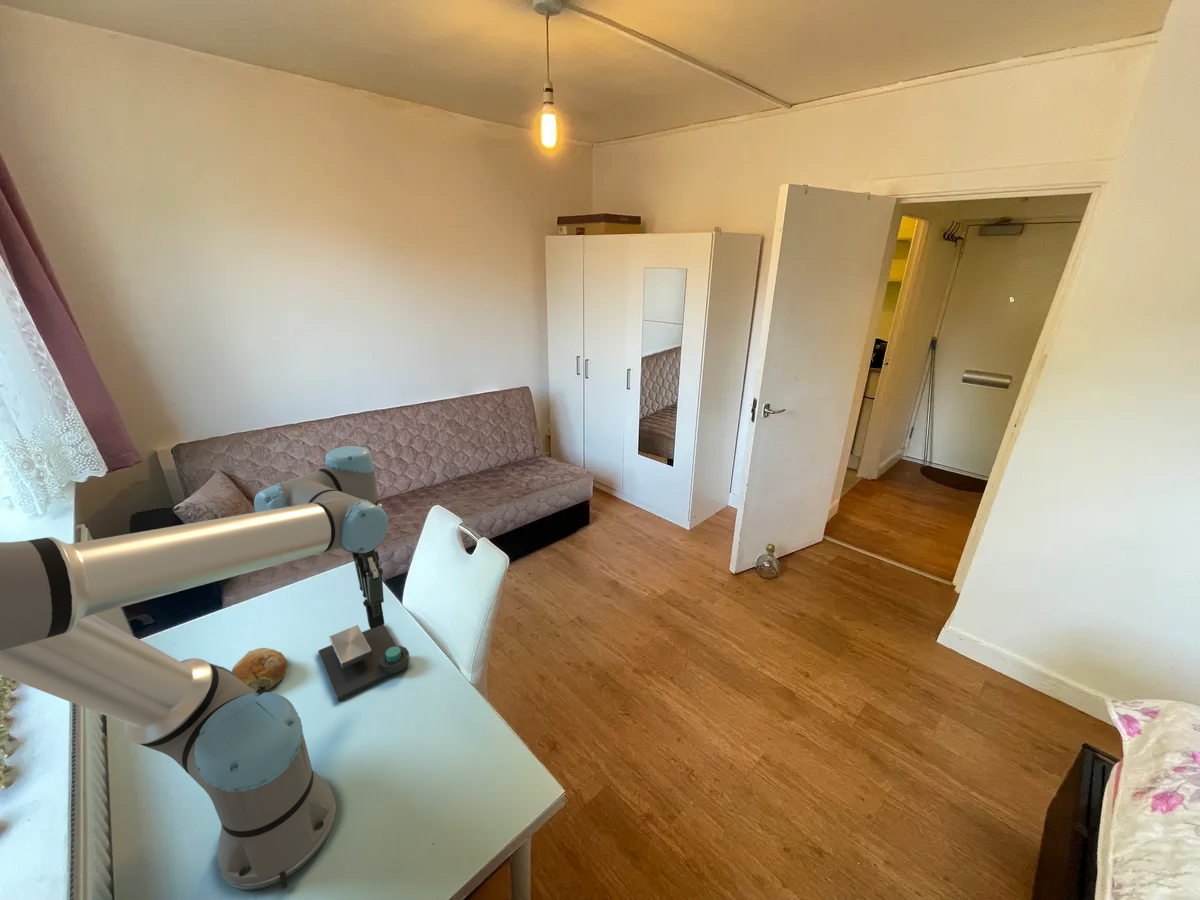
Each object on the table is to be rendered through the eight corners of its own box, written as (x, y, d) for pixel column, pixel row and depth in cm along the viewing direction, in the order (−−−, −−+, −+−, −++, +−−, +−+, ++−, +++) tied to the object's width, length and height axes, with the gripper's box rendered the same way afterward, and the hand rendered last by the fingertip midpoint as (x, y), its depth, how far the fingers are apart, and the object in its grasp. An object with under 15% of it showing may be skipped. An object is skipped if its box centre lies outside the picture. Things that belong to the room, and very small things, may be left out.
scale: (414, 668, 106) (412, 658, 105) (339, 705, 97) (336, 694, 96) (387, 625, 118) (386, 615, 117) (319, 654, 109) (316, 644, 108)
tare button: (403, 658, 105) (402, 652, 105) (389, 665, 103) (388, 658, 103) (398, 650, 107) (397, 644, 107) (384, 656, 106) (383, 650, 105)
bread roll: (296, 681, 106) (301, 644, 107) (260, 702, 96) (265, 661, 96) (254, 677, 107) (258, 640, 107) (214, 697, 97) (218, 656, 97)
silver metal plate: (372, 655, 105) (371, 650, 105) (342, 669, 102) (341, 663, 101) (358, 629, 112) (357, 624, 112) (330, 641, 109) (329, 636, 108)
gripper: (392, 534, 91) (405, 634, 99) (370, 507, 100) (385, 601, 108) (348, 547, 86) (366, 651, 95) (330, 517, 95) (348, 615, 104)
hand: (376, 624), depth 101 cm, fingers closed
